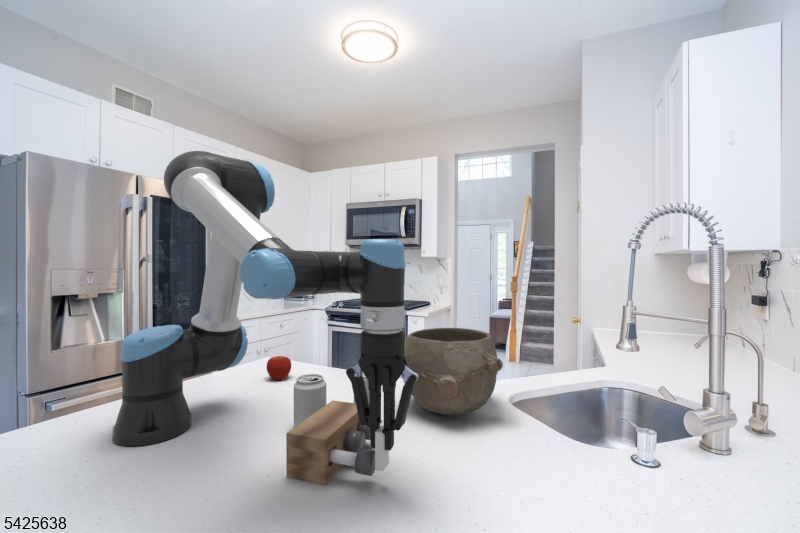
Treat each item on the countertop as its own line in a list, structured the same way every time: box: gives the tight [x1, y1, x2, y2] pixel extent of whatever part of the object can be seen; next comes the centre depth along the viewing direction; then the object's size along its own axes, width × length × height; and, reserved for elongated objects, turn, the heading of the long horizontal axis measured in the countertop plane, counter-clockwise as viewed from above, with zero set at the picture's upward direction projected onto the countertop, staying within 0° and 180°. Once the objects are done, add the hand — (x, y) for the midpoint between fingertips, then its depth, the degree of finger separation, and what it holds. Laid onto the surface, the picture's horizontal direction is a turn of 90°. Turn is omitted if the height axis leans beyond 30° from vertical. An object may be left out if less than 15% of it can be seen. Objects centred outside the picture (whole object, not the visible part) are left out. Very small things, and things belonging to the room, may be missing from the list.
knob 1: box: [344, 430, 366, 453], centre depth 75 cm, size 11×4×4 cm, turn 71°
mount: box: [285, 399, 367, 486], centre depth 75 cm, size 8×17×8 cm, turn 161°
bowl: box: [401, 327, 504, 416], centre depth 101 cm, size 27×29×20 cm
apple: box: [266, 355, 292, 381], centre depth 126 cm, size 8×8×8 cm
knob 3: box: [358, 422, 370, 441], centre depth 81 cm, size 11×4×4 cm, turn 71°
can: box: [293, 373, 327, 428], centre depth 89 cm, size 8×8×12 cm
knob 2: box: [329, 447, 376, 477], centre depth 68 cm, size 11×4×4 cm, turn 71°
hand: (382, 466), depth 66 cm, fingers closed
